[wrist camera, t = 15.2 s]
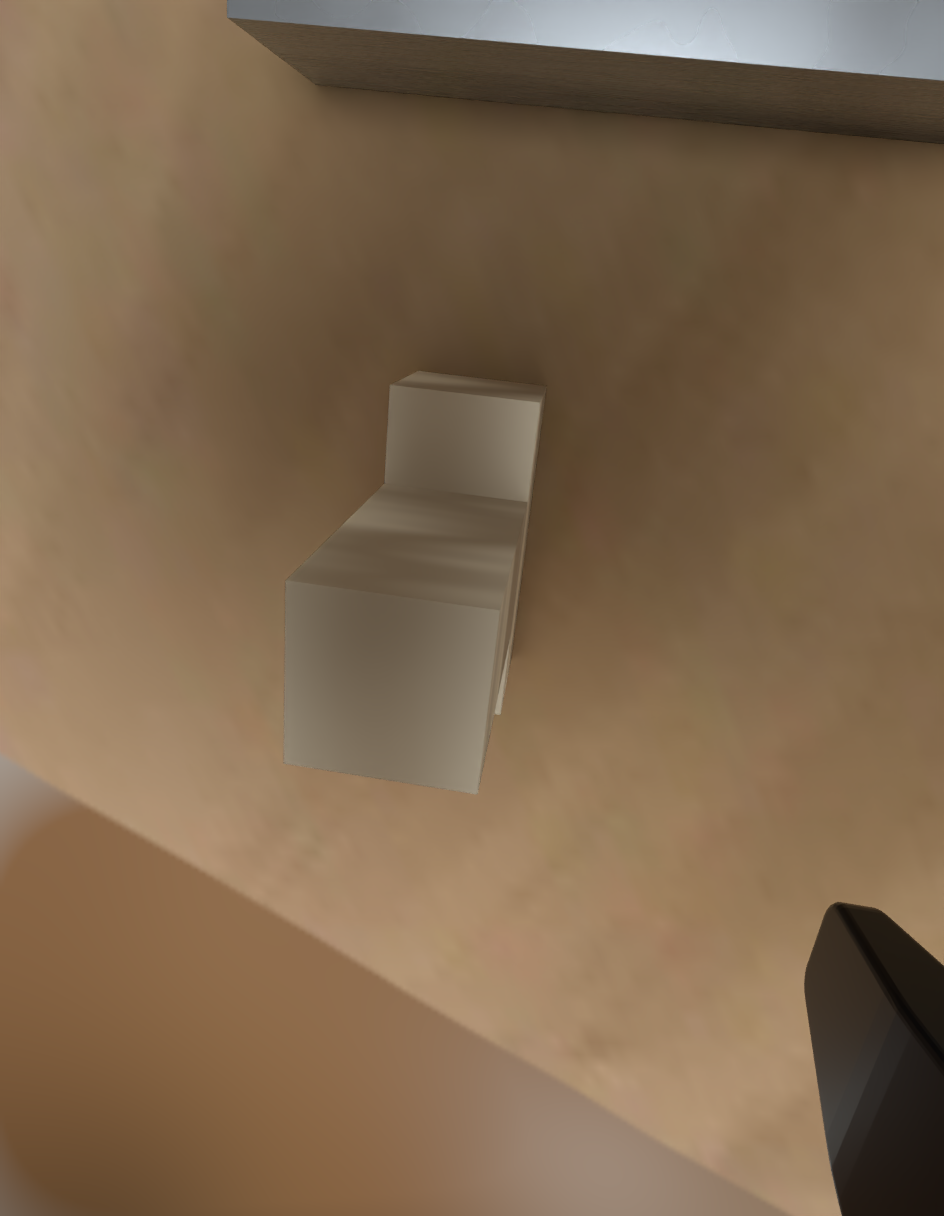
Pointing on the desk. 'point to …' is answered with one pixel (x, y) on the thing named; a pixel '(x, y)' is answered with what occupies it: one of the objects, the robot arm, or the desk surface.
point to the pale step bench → (418, 592)
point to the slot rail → (634, 56)
